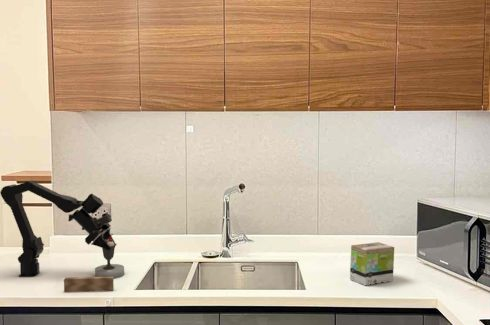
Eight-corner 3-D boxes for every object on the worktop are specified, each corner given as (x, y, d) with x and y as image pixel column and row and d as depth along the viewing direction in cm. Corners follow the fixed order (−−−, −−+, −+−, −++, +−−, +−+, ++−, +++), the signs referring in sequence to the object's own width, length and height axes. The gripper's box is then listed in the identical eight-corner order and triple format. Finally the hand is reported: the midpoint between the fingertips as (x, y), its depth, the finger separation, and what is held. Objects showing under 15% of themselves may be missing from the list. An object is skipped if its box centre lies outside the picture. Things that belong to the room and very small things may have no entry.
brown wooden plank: (64, 292, 180) (63, 279, 180) (65, 290, 182) (65, 277, 182) (112, 290, 182) (112, 278, 182) (113, 289, 184) (113, 276, 184)
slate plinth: (92, 279, 196) (91, 272, 196) (98, 271, 208) (98, 264, 208) (121, 278, 197) (121, 271, 197) (126, 270, 209) (126, 263, 209)
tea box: (365, 286, 189) (366, 250, 188) (349, 279, 198) (350, 244, 197) (394, 281, 196) (394, 246, 195) (376, 275, 204) (377, 241, 204)
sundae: (116, 269, 199) (116, 234, 198) (100, 270, 198) (99, 235, 197) (117, 265, 206) (117, 231, 205) (101, 266, 204) (100, 231, 203)
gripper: (92, 211, 191) (120, 238, 192) (105, 204, 210) (131, 229, 211) (73, 230, 192) (100, 257, 193) (88, 222, 210) (113, 246, 211)
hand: (112, 247), depth 202 cm, fingers open, 7 cm apart
